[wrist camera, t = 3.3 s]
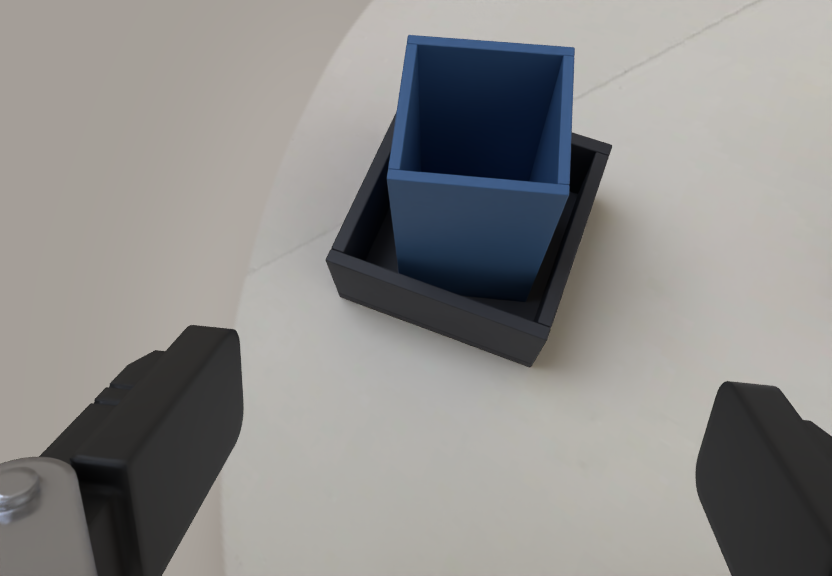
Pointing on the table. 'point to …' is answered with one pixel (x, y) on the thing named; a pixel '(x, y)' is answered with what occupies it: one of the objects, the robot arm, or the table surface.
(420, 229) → the blue bin
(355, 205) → the black bin
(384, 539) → the table surface
